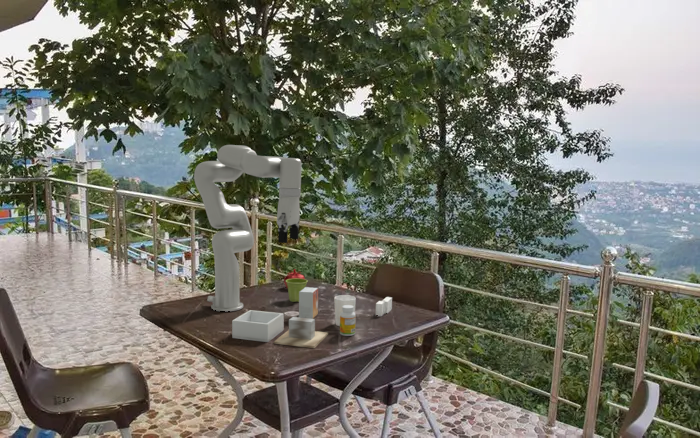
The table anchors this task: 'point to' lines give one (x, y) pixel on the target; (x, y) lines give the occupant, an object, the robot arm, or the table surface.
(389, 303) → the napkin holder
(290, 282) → the plant pot
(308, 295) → the small box
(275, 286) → the table surface
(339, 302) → the white cup
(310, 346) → the cover plate
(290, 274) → the pomegranate
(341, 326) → the supplement bottle
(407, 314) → the table surface
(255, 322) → the shallow square tray
